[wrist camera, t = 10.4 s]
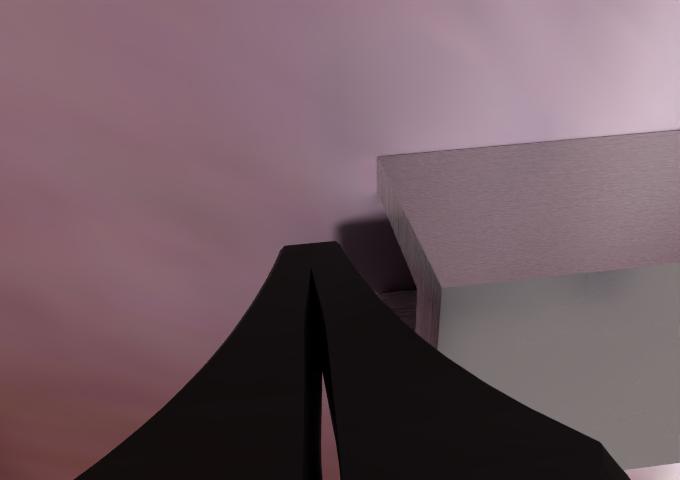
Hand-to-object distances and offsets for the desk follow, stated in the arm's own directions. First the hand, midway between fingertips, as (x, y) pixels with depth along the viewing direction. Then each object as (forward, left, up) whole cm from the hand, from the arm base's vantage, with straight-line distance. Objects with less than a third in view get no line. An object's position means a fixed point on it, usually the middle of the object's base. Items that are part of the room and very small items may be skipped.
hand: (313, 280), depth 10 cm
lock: (0, -6, -1) cm, 6 cm away
